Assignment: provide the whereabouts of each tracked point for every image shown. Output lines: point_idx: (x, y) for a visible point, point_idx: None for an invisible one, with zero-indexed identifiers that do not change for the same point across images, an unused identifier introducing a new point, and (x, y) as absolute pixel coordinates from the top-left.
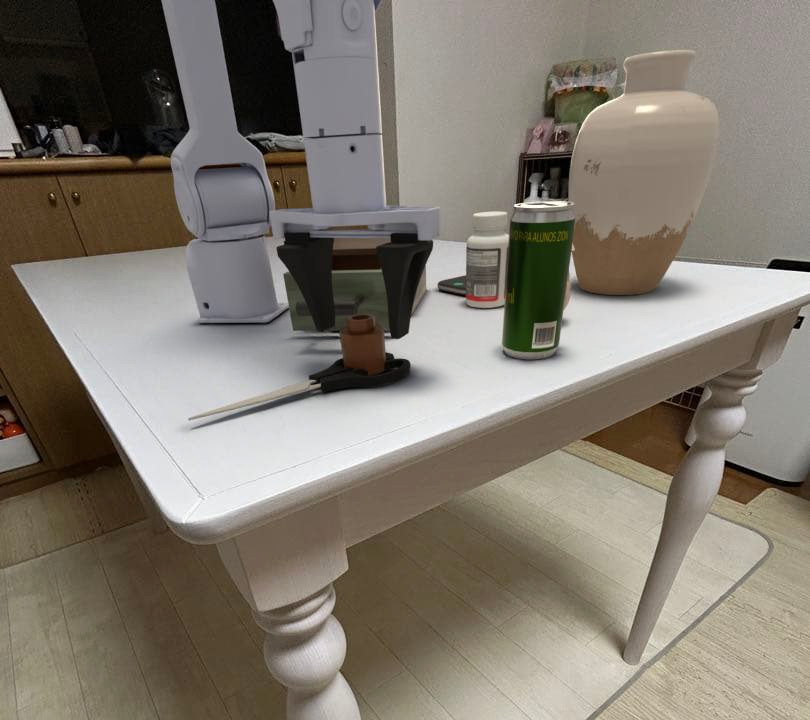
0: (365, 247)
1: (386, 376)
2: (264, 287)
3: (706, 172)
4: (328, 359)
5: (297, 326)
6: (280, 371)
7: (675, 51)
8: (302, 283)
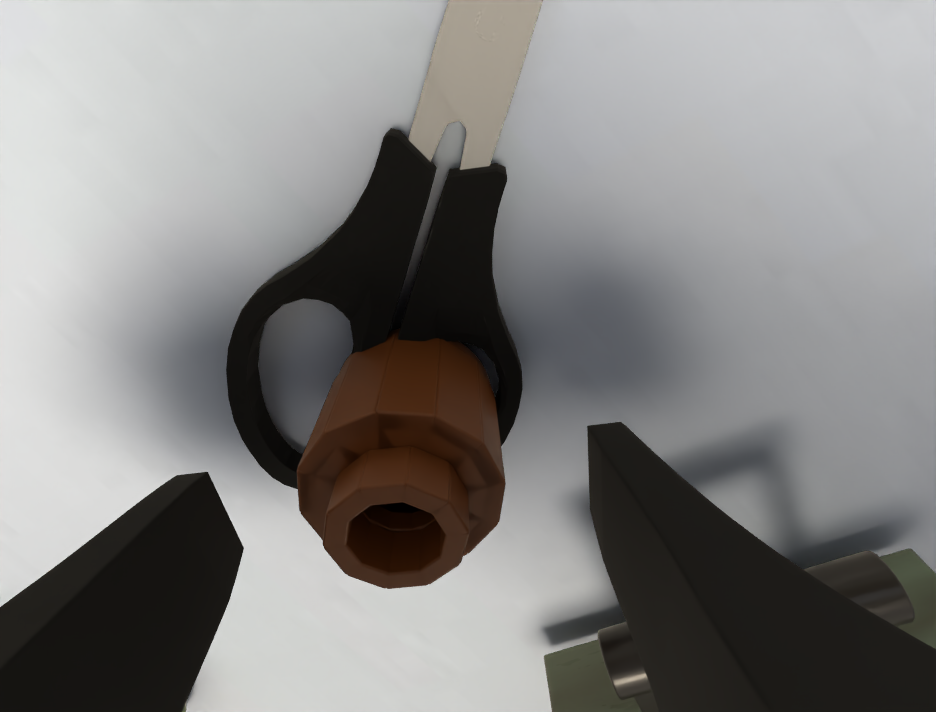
0: None
1: (233, 337)
2: None
3: None
4: (633, 427)
5: (899, 566)
6: (751, 251)
7: None
8: (758, 589)
